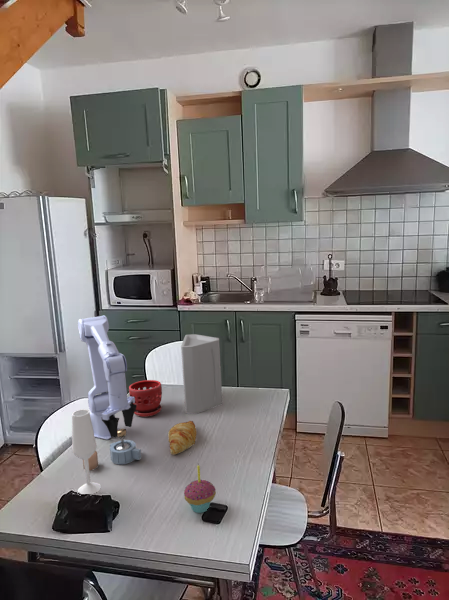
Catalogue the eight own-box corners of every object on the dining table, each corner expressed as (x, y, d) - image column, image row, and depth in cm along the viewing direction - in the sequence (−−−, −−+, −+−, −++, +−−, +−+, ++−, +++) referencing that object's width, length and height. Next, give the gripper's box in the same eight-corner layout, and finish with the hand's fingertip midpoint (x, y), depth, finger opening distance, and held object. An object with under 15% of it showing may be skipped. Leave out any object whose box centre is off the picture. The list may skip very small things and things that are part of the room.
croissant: (182, 468, 145) (191, 449, 143) (155, 453, 146) (164, 434, 144) (198, 435, 165) (207, 418, 163) (175, 423, 166) (183, 406, 164)
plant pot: (169, 409, 183) (167, 381, 181) (148, 421, 172) (146, 392, 170) (146, 403, 190) (144, 376, 188) (124, 415, 179) (121, 387, 177)
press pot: (104, 461, 144) (103, 449, 144) (120, 449, 152) (119, 438, 151) (133, 467, 140) (131, 455, 139) (147, 455, 147) (146, 443, 146)
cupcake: (185, 499, 123) (182, 459, 120) (215, 496, 123) (213, 456, 121) (185, 519, 114) (182, 477, 112) (217, 516, 115) (215, 474, 113)
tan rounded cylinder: (80, 468, 141) (79, 456, 140) (90, 461, 145) (89, 449, 144) (91, 471, 139) (90, 458, 138) (101, 464, 143) (100, 451, 142)
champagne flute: (88, 498, 125) (79, 419, 121) (72, 491, 128) (63, 415, 124) (105, 486, 131) (97, 410, 126) (90, 480, 134) (82, 406, 130)
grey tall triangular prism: (222, 412, 177) (218, 345, 172) (185, 414, 177) (180, 347, 172) (222, 394, 196) (219, 333, 191) (189, 395, 196) (185, 334, 191)
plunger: (112, 449, 144) (111, 432, 143) (121, 443, 148) (120, 426, 147) (124, 452, 142) (122, 434, 141) (132, 445, 146) (131, 428, 145)
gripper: (113, 402, 134) (117, 443, 136) (140, 385, 147) (144, 423, 149) (95, 399, 137) (99, 440, 139) (123, 383, 150) (127, 420, 152)
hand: (121, 431), depth 144 cm, fingers open, 7 cm apart
